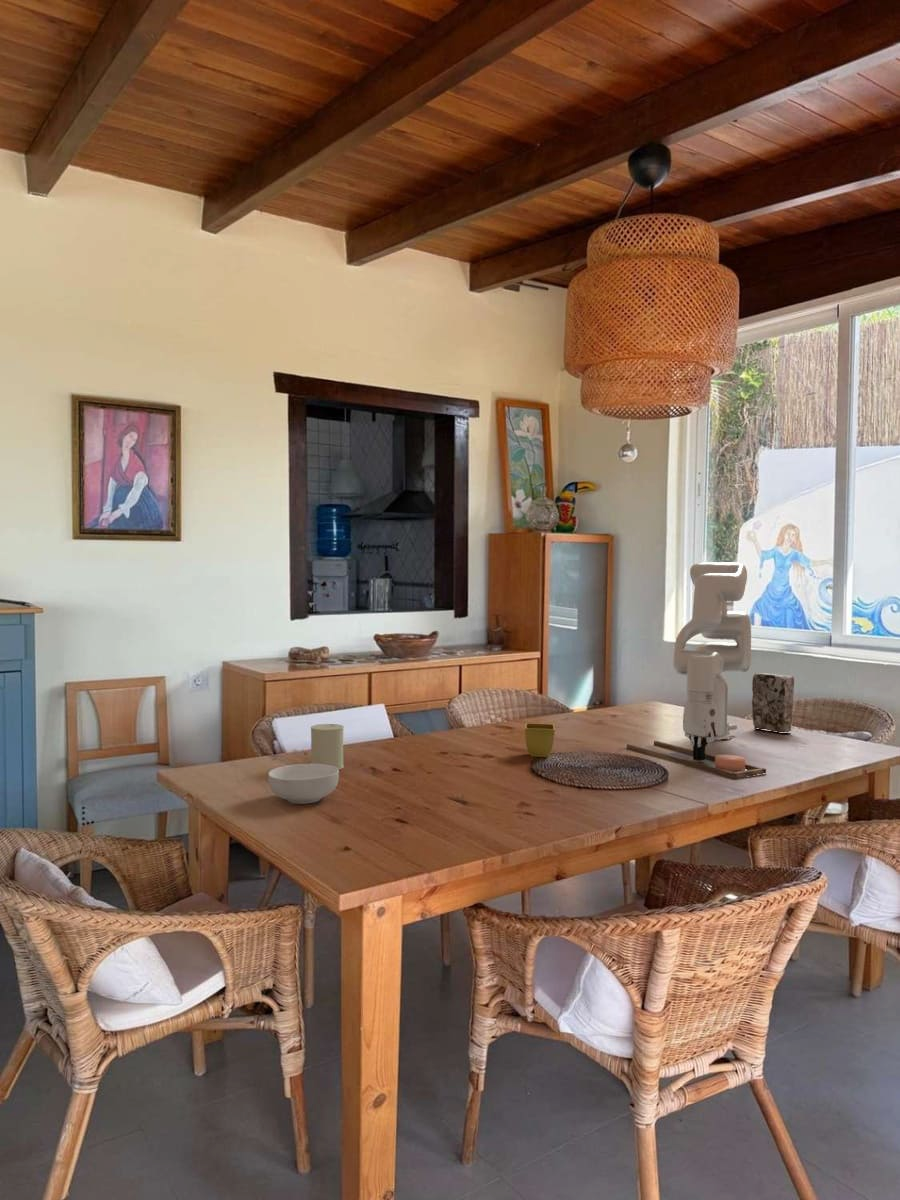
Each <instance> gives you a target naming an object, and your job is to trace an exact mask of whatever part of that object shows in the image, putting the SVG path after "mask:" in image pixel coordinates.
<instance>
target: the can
mask: <svg viewBox="0 0 900 1200" xmlns="http://www.w3.org/2000/svg"><path fill="white" fill-rule="evenodd" d="M344 729H345V727H344V725H343V724H337V723H321V724H314V725H311V726H310V753H311V754H310V755H311V756H310V764H324V765H330V766H334V767H336V768H338V770H339V771H340V769H341V770H342V768H343V769H344Z"/></svg>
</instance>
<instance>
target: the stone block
mask: <svg viewBox="0 0 900 1200" xmlns="http://www.w3.org/2000/svg"><path fill="white" fill-rule="evenodd" d="M751 684H752V685H751V686H752V687H751V689H752V698H751V699H752V700H751V705H752V706H751V707H752V711H751V712H752V723H753V726H754V727H753V728H754V729H755V728H759V729H767V730H771V731H777V732H789V731H792V721H793V708H794V689H795V678H794V676H792V675H788V674H779V673H778V674H775V673H768V672H759V673H758V672H756V673H754V675H753V677H752V683H751Z"/></svg>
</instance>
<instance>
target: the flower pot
mask: <svg viewBox="0 0 900 1200" xmlns="http://www.w3.org/2000/svg"><path fill="white" fill-rule="evenodd" d="M524 725H525V726H524V730H525V733H524V734H525V745H526V749H527V752H528V754H529V756H530V757H531V758H534V757H535V758H548V757H549V756H550V754H551V752H552V749H553V747H554V741H555V740H554V739H555V733H556V728H555V727H556V726H555V724H554V723H533V722H532V723H529V722H528V723H525V724H524Z"/></svg>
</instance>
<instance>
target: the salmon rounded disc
mask: <svg viewBox="0 0 900 1200" xmlns="http://www.w3.org/2000/svg"><path fill="white" fill-rule="evenodd" d="M714 756H715V767H716V768H720V769H723V770H727V771H731V772H741V771H745V764H746V758H745V757H743V756H740V755H734V754H718V755H714Z"/></svg>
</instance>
